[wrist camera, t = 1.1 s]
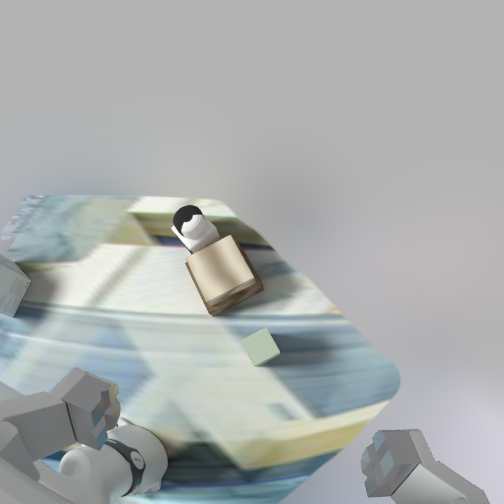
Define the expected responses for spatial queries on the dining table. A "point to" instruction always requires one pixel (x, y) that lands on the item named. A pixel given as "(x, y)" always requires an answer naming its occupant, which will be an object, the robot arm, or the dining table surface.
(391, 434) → the robot arm
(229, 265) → the tower top
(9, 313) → the supplement box
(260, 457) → the dining table surface
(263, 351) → the sage block
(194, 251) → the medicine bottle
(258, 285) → the tower base
